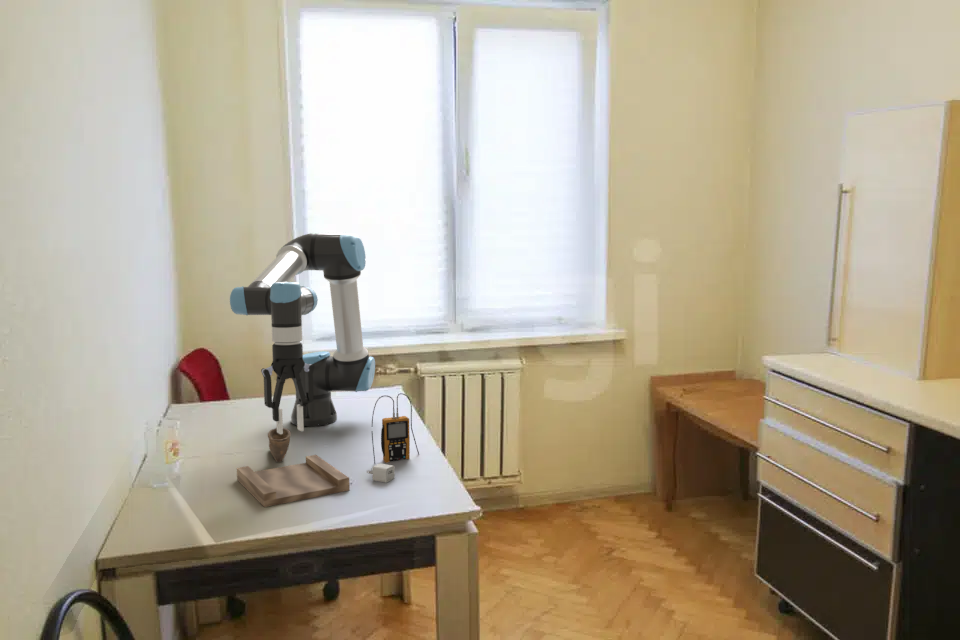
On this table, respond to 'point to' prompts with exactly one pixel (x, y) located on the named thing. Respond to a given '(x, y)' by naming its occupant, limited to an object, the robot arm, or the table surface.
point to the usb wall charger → (383, 472)
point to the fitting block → (293, 481)
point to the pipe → (279, 443)
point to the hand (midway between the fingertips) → (290, 431)
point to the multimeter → (395, 436)
